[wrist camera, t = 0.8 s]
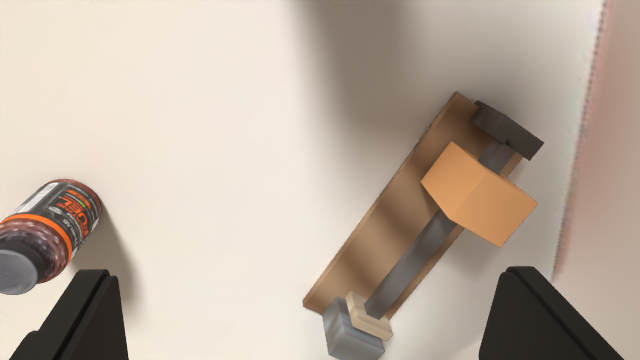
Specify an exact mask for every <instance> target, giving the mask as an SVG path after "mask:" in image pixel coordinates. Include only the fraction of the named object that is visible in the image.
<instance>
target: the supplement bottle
mask: <svg viewBox="0 0 640 360" xmlns="http://www.w3.org/2000/svg"><path fill="white" fill-rule="evenodd" d="M100 216H101V205H100V202H99V199H98V197H97V196H96V195H95V193H94V192H93V191H92V190H91V189H90V188H89V187H87V186H85V185H84V184H82V183H80V182H77V181H74V180H69V179H60V180H54V181H51V182H48V183H47V184H45V185H44V186H42V187H41V188H40V189H38V190H37V191H36V192H35V193H34V194H33V195H32V196H31V197H29V198H28V199H27V200H26V201H25V202H24V203H23V204H21V205H20V206H19V207H18V208H17V209H16V210H15V211H14V212H12V213H11V214H10V215H9V216H8V217H7V218H5V219H4V220H3V221H2V222H1V223H0V293H2V294H7V295H19V294H23V293H26V292H28V291H30V290H31V289H32V288H33V287H34V286H35V285H36V284H40V283H44V282H47V281H50V280H51V279H53V278H55V277H56V276H58V275H59V274H60V273H61V272H62V271H63V270H64V268H65V267H66V266H67V264H68V263H69V262H70V260H71V259H72V258H73V256H74V255H75V254H76V252H77V251H78V250H79V248H80V247H81V245H82V244H83V243H84V241H85V240H86V239H87V237H88V236H89V235H90V233H91V232H92V230H93V229H94V228H95V226H96V225H97V223H98V221H99V219H100Z"/></svg>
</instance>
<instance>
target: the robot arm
mask: <svg viewBox="0 0 640 360" xmlns="http://www.w3.org/2000/svg"><path fill="white" fill-rule="evenodd" d="M9 360H129V358H128V351H127V343H126V336H125V328H124V321H123V313H122V306H121V298H120V291H119V283H118V278H117V277H116V276H110V274H109V272H108V270H106V269H103V270H79V271H78V272H77V273H76V275H75V276H74V278H73V279H72V281H71V282H70V284H69V285H68V287H67V288H66V290H65V291H64V293H63V294H62V296H61V297H60V299H59V300H58V302H57V303H56V305H55V306H54V308H53V309H52V311H51V312H50V314H49V315H48V317H47V318H46V320H45V321H44V323H43V324H42V326H41V327H40V329H39V330H38V331H32V332H30V333H28V334H27V335H26V337H25V338H24V339H23V340H22V342H21V343H20V345H19V346H18V347H17V349H16V350H15V352H14V353H13V355H12V356H11V358H10V359H9ZM479 360H624V359H623V358H622V357H621V356H620V355H619V354H618V353H617V352H616V351H615V350H614V349H613V348H612V347H611V346H610V345H609V344H608V343H607V341H605V339H604V338H603V337H602V336H601V335H600V334H599V333H598V332H597V331H596V330H595V329H594V328H593V327H592V326H591V325H590V324H589V323H588V322H587V321H586V320H585V319H584V318H583V317H582V316H581V315H580V314H579V313H578V312H577V311H576V309H575V308H573V306H572V305H571V304H570V303H569V302H568V301H567V300H566V299H565V298H564V297H563V296H562V295H561V294H560V293H559V292H558V291H557V290H556V289H555V288H554V287H553V286H552V285H551V284H550V283H549V282H548V281H547V280H546V278H545V277H544V276H543V275H542V274H541V273H540V272H539V271H538V270H537V269H536V268H534V267H531V266H511V267H508V268H507V270H506V272H503V273H502V274H501V275H500V277H499V281H498V284H497V288H496V292H495V295H494V299H493V302H492V306H491V310H490V313H489V317H488V321H487V324H486V328H485V332H484V335H483V339H482V343H481V346H480V350H479Z"/></svg>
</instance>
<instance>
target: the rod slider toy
mask: <svg viewBox="0 0 640 360" xmlns="http://www.w3.org/2000/svg"><path fill="white" fill-rule="evenodd" d="M451 141H452V142H454V143H455V144H457V145H459V146H460V147H462V148H463V149H465V150H466V151H468V152H469V153H471V154H473V155H474V156H476V157H477V158H479V159H478V160H477V161H478V162H479V163H481V164H482V165H483V166H485V167H486V168H488V169H489V170H491V171H492V172H494V173H496V174H497V175H498V174H499V173H501V174H502V175H503V176H505V177H507V176H508V175H509V174H510V173H511V171H512V170H513V169H514V168H515V167H516V165H517V164H518V163H519V162H520V160H521V159H522V158H523V157H524V158H526V159H527V160H529V161H530V160H531V158H532V157H533V156H534V155H535V154H536V152H537V151H538V150H539V149H540V148H541V146H542V145H543V144H544V142H543V141H541V140H540V139H538V138H537V137H535V136H534V135H533V134H531V133H530V132H528V131H527V130H525V129H524V128H523V127H521V126H520V125H518V124H517V123H516V122H514V121H513V120H511V119H510V118H508V117H507V116H506V115H504V114H502V113H500V112H498V111H497V110H495V109H493V108H491V107H489V106H487V105H486V104H484V103H482V102H480V101H477V102H476V104H474V103H472V102H471V101H469V100H468V99H467V98H465V97H464V96H462V95H461V94H459V93H457V92H455V93H454V94H453V96H452V97H451V99H450V100H449V101H448V103H447V104H446V105H445V107H444V108H443V109H442V111H441V112H440V114H439V115H438V116H437V118H436V119H435V120H434V122H433V123H432V125H431V126H430V127H429V129H428V130H427V131H426V133H425V134H424V135H423V137H422V138H421V140H420V141H419V142H418V144H417V145H416V146H415V148H414V149H413V150H412V152H411V153H410V155H409V156H408V157H407V159H406V160H405V161H404V163H403V164H402V166H401V167H400V168H399V170H398V171H397V172H396V174H395V175H394V176H393V178H392V179H391V181H390V182H389V183H388V185H387V186H386V187H385V189H384V190H383V191H382V193H381V194H380V196H379V197H378V198H377V200H376V201H375V202H374V204H373V205H372V207H371V208H370V209H369V211H368V212H367V213H366V215H365V216H364V217H363V219H362V220H361V222H360V223H359V224H358V226H357V227H356V228H355V230H354V231H353V233H352V234H351V235H350V237H349V238H348V239H347V241H346V242H345V243H344V245H343V246H342V248H341V249H340V250H339V252H338V253H337V254H336V256H335V257H334V258H333V260H332V261H331V263H330V264H329V265H328V267H327V268H326V269H325V271H324V272H323V274H322V275H321V276H320V278H319V279H318V280H317V282H316V283H315V284H314V286H313V287H312V289H311V290H310V291H309V293H308V294H307V295H306V297H305V298H304V299H303V307H306V308H308V309H310V310H313V311H315V312H317V313H320V314H322V318H323V324H324V329H325V335H326V341H327V347H328V353H329V355H330V356H333V357H335V358H338V359H340V360H378V359H379V358H380V357H381V355H382V354H383V353H384V352H385V350H384V347H383V344H382V340H381V339H383V340H386V341H388V340H389V339H390V338H391V337H392V336H393V333H392V330H391V327H390V324H389V322H388V320H389V319H390V318H391V317H392V316H393V314H394V313H395V312H396V311H397V310H398V308H399V307H400V306H401V305H402V303H403V302H404V301H405V300H406V299H407V297H408V296H409V295H410V294H411V293H412V291H413V290H414V289H415V288H416V287H417V285H418V284H419V283H420V282H421V280H422V279H423V278H424V277H425V276H426V274H427V273H428V272H429V271H430V270H431V268H432V267H433V266H434V265H435V263H436V262H437V261H438V260H439V259H440V257H441V256H442V255H443V254H444V253H445V251H446V250H447V249H448V248H449V247H450V245H451V244H452V243H453V242H454V240H455V239H456V238H457V237H458V236H459V234H460V233H461V232H462V231H463V230H464V227H463V226H461V225H459V224H457V223H456V222H454V221H452V220H450V219H449V218H448V217H447V215H446V214H445V213H444V212H443V210H442V209H441V208H440V206H439V205H438V204H437V203H436V201H435V200H434V199H433V198H432V196H431V195H430V194H429V192H428V191H427V190H426V189H425V187H424V186H423V185H422V183H421V180H422V179H423V178H424V176H425V175H426V174H427V172H428V171H429V170H430V168H431V167H432V166H433V164H434V163H435V162H436V160H437V159H438V158H439V156H440V155H441V154H442V152H443V151H444V150H445V149H446V147H447V146H448V145H449V143H450V142H451Z"/></svg>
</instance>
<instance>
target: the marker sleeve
mask: <svg viewBox="0 0 640 360" xmlns="http://www.w3.org/2000/svg"><path fill="white" fill-rule="evenodd" d="M478 159H479V158H477V157H476V156H474V155H473V154H471V153H469V152H468V151H466V150H465V149H463V148H462V147H460V146H459V145H457V144H455V143H454V142H452V141H451V142H450V143H449V145H448V146H447V147H446V149H445V150H444V151H443V152H442V154H441V155H440V156H439V158H438V159H437V160H436V162H435V163H434V164H433V166H432V167H431V168H430V170H429V171H428V172H427V174H426V175H425V176H424V178H423V179H422V180H421V183H422V185H423V186H424V187H425V189H426V190H427V191H428V192H429V194H430V195H431V196H432V198H433V199H434V200H435V201H436V203H437V204H438V205H439V206H440V208H441V209H442V210H443V212H444V213H445V214H446V215H447V217H448V218H449V219H450V220H452V221H454V222H456V223H457V224H459V225H461V226H463V227H464V228H466V229H468V230H470V231H471V232H473V233H475V234H477V235H478V236H480V237H482V238H484V239H486V240H487V241H489V242H491V243H493V244H494V245H496V246H498V247H501V246H502V245H503V243H504V242H505V241H506V240H507V239H508V238H509V237H510V235H511V234H512V233H513V232H514V231H515V230H516V228H517V227H518V226H519V225H520V224H521V223H522V222H523V220H524V219H525V218H526V217H527V216H528V215H529V214H530V212H531V211H532V210H533V209H534V208H535V207H536V206H537V204H538V203H537V202H536V201H534V200H533V199H532V198H531V197H529V196H528V195H527V194H526V193H524V192H523V191H522V190H521V189H519V188H518V187H517V186H516V185H514V184H513V183H512V182H511V181H509V180H508V179H507V178H506V177H505V176H503V175H502V174H501V173H499V174H498V175H497V174H496V173H494V172H492V171H491V170H489V169H488V168H486V167H485V166H483V165H482V164H481V163H479V162H478V161H477V160H478Z"/></svg>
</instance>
